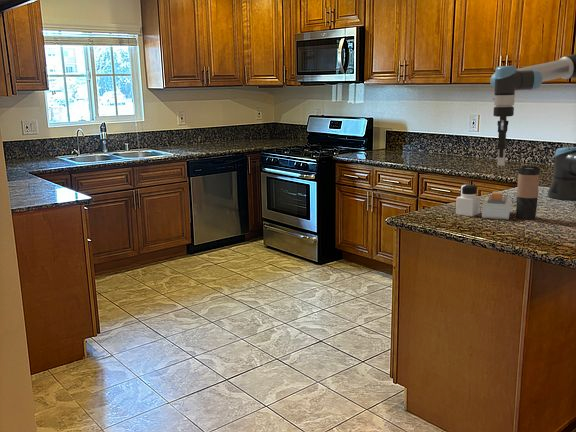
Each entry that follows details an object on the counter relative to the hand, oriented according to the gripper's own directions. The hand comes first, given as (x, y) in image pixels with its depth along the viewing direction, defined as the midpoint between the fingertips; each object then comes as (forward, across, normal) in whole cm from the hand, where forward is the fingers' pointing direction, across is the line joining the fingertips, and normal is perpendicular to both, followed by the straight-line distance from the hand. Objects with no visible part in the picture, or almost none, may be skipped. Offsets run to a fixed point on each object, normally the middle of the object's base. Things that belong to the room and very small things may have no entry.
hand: (500, 165), depth 230 cm
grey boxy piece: (+20, +6, 0) cm, 20 cm away
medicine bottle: (+20, +8, -12) cm, 24 cm away
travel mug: (+20, +8, +10) cm, 24 cm away
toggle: (+13, +8, 0) cm, 16 cm away
